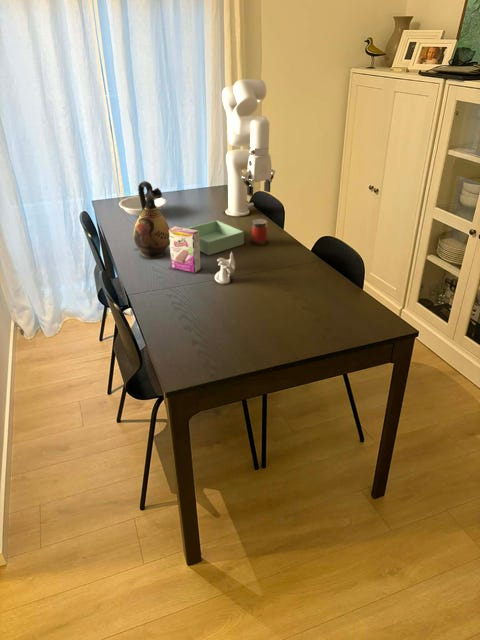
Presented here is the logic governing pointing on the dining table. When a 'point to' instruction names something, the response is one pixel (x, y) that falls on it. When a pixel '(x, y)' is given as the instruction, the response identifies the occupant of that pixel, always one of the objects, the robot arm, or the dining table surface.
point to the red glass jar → (259, 232)
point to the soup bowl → (139, 205)
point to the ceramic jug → (150, 224)
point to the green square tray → (218, 237)
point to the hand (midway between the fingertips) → (258, 193)
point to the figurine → (225, 270)
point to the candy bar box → (184, 249)
